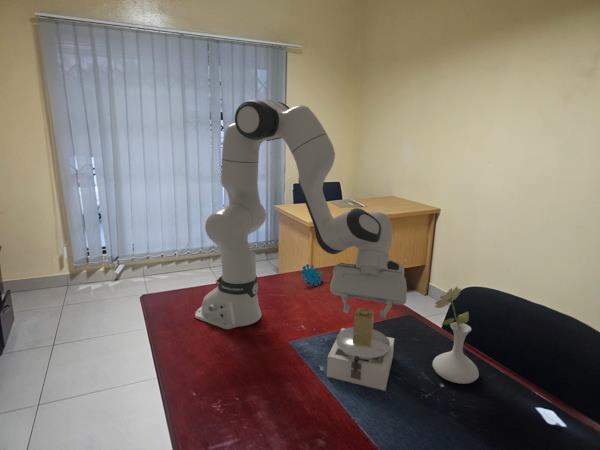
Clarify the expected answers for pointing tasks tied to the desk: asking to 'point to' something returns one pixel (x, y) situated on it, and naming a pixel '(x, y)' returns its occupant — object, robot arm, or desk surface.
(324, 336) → the desk surface
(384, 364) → the base
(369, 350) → the scale pan
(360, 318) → the brass weight
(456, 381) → the flower in vase
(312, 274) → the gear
